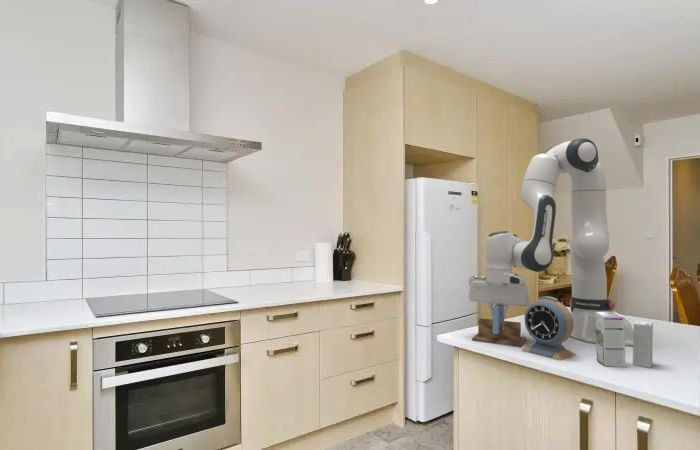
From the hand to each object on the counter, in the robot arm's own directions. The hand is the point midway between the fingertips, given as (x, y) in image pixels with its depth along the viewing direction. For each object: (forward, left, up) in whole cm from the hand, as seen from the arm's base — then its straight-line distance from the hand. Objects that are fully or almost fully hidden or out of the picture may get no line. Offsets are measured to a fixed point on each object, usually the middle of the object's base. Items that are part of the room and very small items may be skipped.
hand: (498, 316), depth 145 cm
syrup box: (-33, +10, -9) cm, 36 cm away
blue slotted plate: (0, 0, -5) cm, 5 cm away
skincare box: (-41, +6, -9) cm, 42 cm away
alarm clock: (-17, +7, -9) cm, 20 cm away
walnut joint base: (0, 0, -8) cm, 8 cm away
